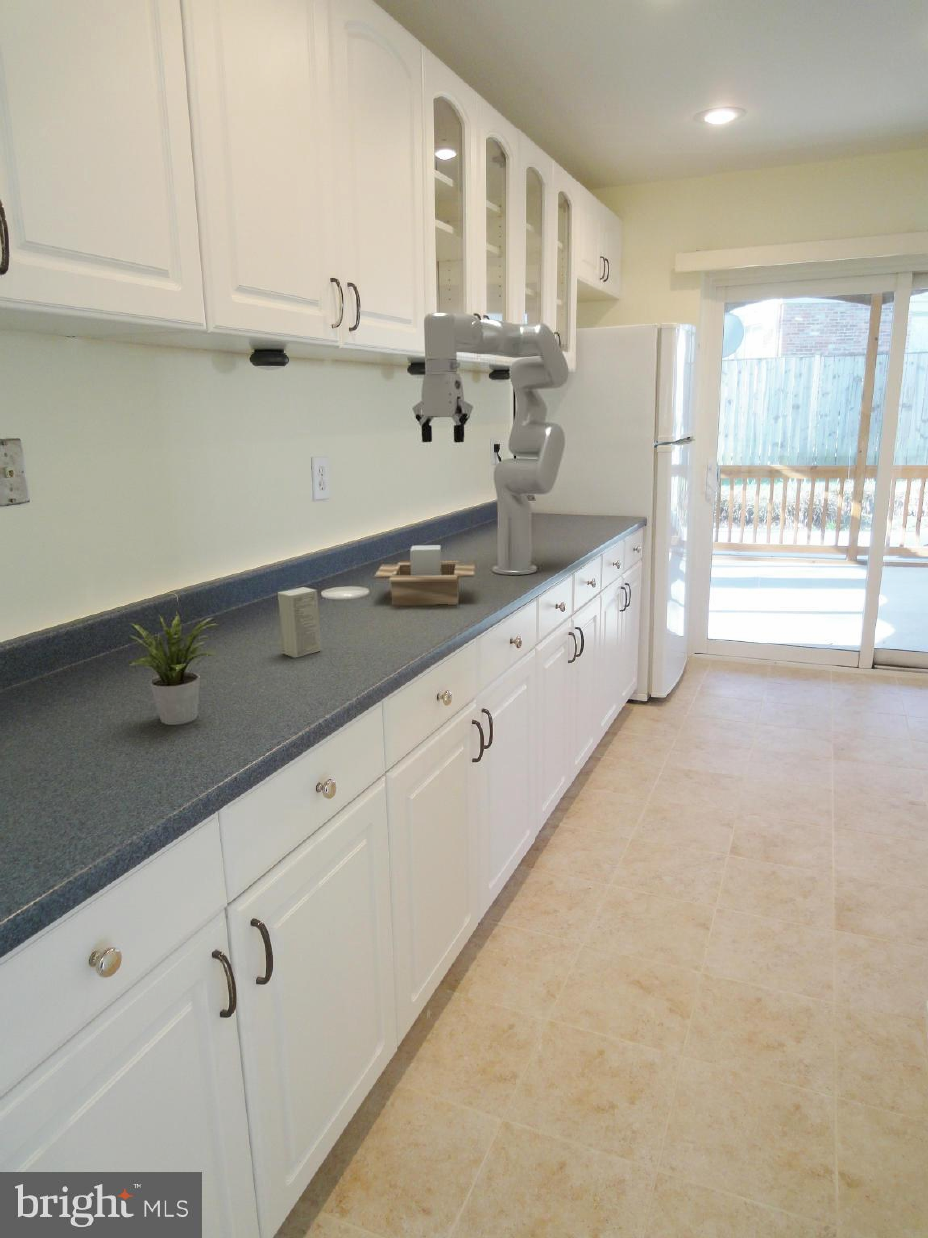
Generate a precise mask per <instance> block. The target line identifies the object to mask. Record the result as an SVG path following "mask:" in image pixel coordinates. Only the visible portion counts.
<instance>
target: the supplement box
mask: <svg viewBox="0 0 928 1238" xmlns="http://www.w3.org/2000/svg"><path fill="white" fill-rule="evenodd" d="M409 557H410V558H409V562H410V568H411V575H441V561H442V548H441V544H425V545H422V544H421V545H412V546H411V548H410V550H409Z"/></svg>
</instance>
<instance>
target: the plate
mask: <svg viewBox="0 0 928 1238" xmlns="http://www.w3.org/2000/svg"><path fill="white" fill-rule="evenodd" d="M320 594H321V597H322V598H324V599H326V600H327V599H328V600H337V601H338V600H342V601H343V600H354V599H359V598H360V599H361V598H364V597H368V596H369V595H370V589H369V588H368V587H364V586H363V587H362V586H354V585H353V586H351V585H349V586H337V587H331V588H327V589H324V590H321V592H320Z"/></svg>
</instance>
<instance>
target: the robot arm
mask: <svg viewBox="0 0 928 1238" xmlns="http://www.w3.org/2000/svg"><path fill="white" fill-rule="evenodd" d="M423 333H424V362H425V363H424V368H425V369H424V371H425V374H423V377H422V378H423V379H422V386H421V399H420V402H418V403H416V404H415V405H414V406H412V411H413V413H414V415H415V419H416V420H417V422H418V424H419V426H421V429H420V430H421V441H422V443H431V442H433V429H432V425H430V424H431V423H432V421H433V419H434V418H451V419H452V420H453V421H454V425H453V442H454V443H464V441H465V425H467V422H468V420H469V419H470V417H471V414H472V411H473V408H474V406H473V405H472V404H470V403H469V402H468V401H465V395H464V387H463V381H462V378H461V374H460V373H458V369H460V368H461V363H460V362H458V359H457V358H458V356H457V353H464V354H465V353H466V354H468V353H469V354H474V355H475V354H477V355H490V356H498V357H504V358H505V357H506V358H514V359H516V358H518V359H517V360H514V361H513V362H512V364H511V365H510V368H509V379H510V383H511V385H512V388H513V392H514V395H515V398H516V402H517V405H516V407H517V408H516V411H515V415H514V420H513V423H512V427H511V429H510V434H509V439H508V444H507V445H508V446H507V447H508V450H509V453H511V455H513V456H516V458H505V459H503V460H500V461H499V462H497V464H496V465H495V467H494V471H493V482H494V488H495V493H496V502H497V503H496V504H497V565H493V566H492V572H493V573H495V574H500V575H508V576H509V575H510V576H513V575H514V576H519V575H529V574H534V573H536V572H537V571H538V569H537V568H538V567H537V566H536V565H534V564H532V507H531V503H530V501H529V499H528V498H527V496H526V495H547V494H549V493H550V492H551V491H552V490H553V488H554V486H555V484H556V481H557V477H558V473H559V469H560V466H561V461H562V458H563V455H564V450H565V443H566V438H565V433H564V429H563V427H561V426H560V424H558V423H555V422H547V421H546V419H547V414H548V408H547V405H546V403H545V402H546V401H544V398H543V397H542V396H541V394H540V392H539V391H538V390H546V389H559V388H562V387H563V386H564V385H565V384H566V383H567V381H568V378H569V373H570V371H569V365H568V362H567V360H566V357H565V355H564V353H563V351H562V348H561V346H560V345H559V342H558V340H557V338H556V336H555V334H554V333H553V331H552V329H550V327H549V326H548V325H547V324H545V323H544V322H532V323H531V322H530V323H521V324H520V323H512V322H507V321H503V320H502V321H501V320H497V319H480V318H479V317H478V316H475V315H473V314H467V313H466V314H465V313H464V314H453V313H450V312H431V313H427V314H426V315H425V317H424V320H423ZM517 457H520V458H517Z"/></svg>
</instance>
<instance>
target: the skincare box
mask: <svg viewBox="0 0 928 1238" xmlns="http://www.w3.org/2000/svg"><path fill="white" fill-rule="evenodd" d="M277 600H278V601H277V602H278V612H279V614H278V615H279V623H280V624H279V625H280V636H281V637H280V638H281V639H280V640H281V648H282V650H281V651H282V655H283V654H284V655H285V656H289V657H291V658H295V659H296V658H299V657H303V656H307V655H310V654H314V653H317V652H320V651H321V650H322V646H321V634H320V619H319V618H320V617H319V604H318V602H319V601H318V590H317V589H313V588H310V587H306V586H302V587H296V588H292V589H288V590H283V591H278V592H277Z"/></svg>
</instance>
